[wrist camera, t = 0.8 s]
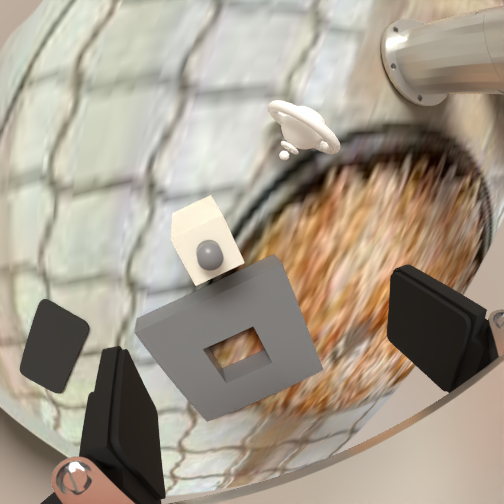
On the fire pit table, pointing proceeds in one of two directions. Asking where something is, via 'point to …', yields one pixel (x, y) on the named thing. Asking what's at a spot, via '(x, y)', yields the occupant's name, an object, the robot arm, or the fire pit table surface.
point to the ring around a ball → (302, 129)
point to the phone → (52, 346)
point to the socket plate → (224, 326)
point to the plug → (204, 241)
